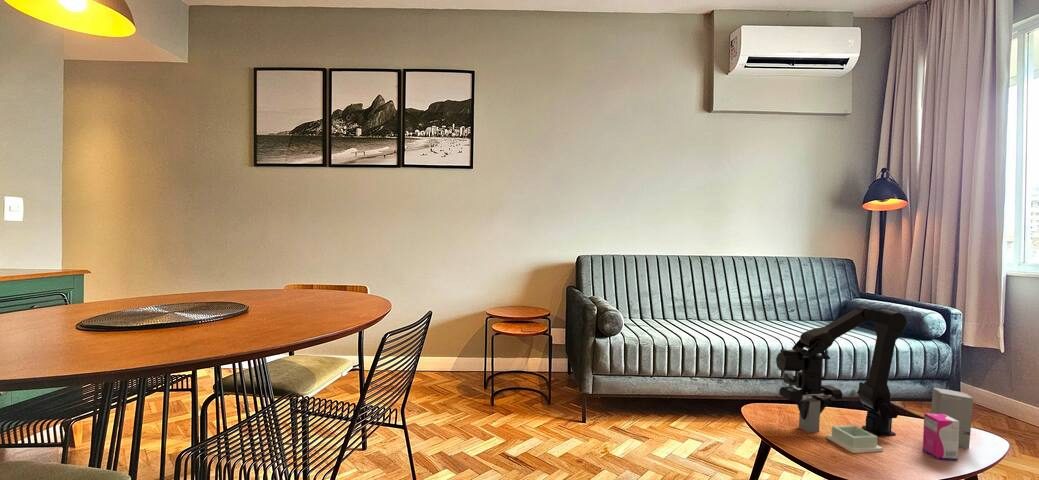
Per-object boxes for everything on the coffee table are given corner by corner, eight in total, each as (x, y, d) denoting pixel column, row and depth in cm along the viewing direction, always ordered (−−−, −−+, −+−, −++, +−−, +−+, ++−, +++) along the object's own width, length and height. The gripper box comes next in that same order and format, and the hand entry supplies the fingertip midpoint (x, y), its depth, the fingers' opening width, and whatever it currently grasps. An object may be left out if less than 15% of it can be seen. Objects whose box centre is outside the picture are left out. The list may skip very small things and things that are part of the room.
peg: (809, 426, 158) (811, 396, 157) (819, 431, 154) (820, 401, 153) (798, 427, 157) (800, 397, 156) (807, 432, 153) (809, 401, 153)
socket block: (854, 436, 151) (854, 423, 151) (882, 451, 141) (883, 438, 141) (826, 437, 149) (826, 425, 149) (853, 453, 140) (853, 439, 139)
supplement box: (942, 451, 142) (944, 413, 142) (958, 461, 136) (961, 421, 136) (921, 449, 143) (923, 412, 142) (936, 459, 137) (939, 420, 136)
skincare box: (935, 443, 147) (939, 393, 146) (927, 434, 153) (930, 386, 153) (971, 450, 143) (975, 398, 143) (962, 440, 150) (965, 390, 149)
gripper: (818, 363, 164) (815, 407, 165) (769, 364, 161) (766, 410, 162) (845, 373, 153) (842, 421, 154) (792, 375, 150) (790, 424, 151)
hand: (809, 418), depth 155 cm, fingers closed on peg, 4 cm apart
